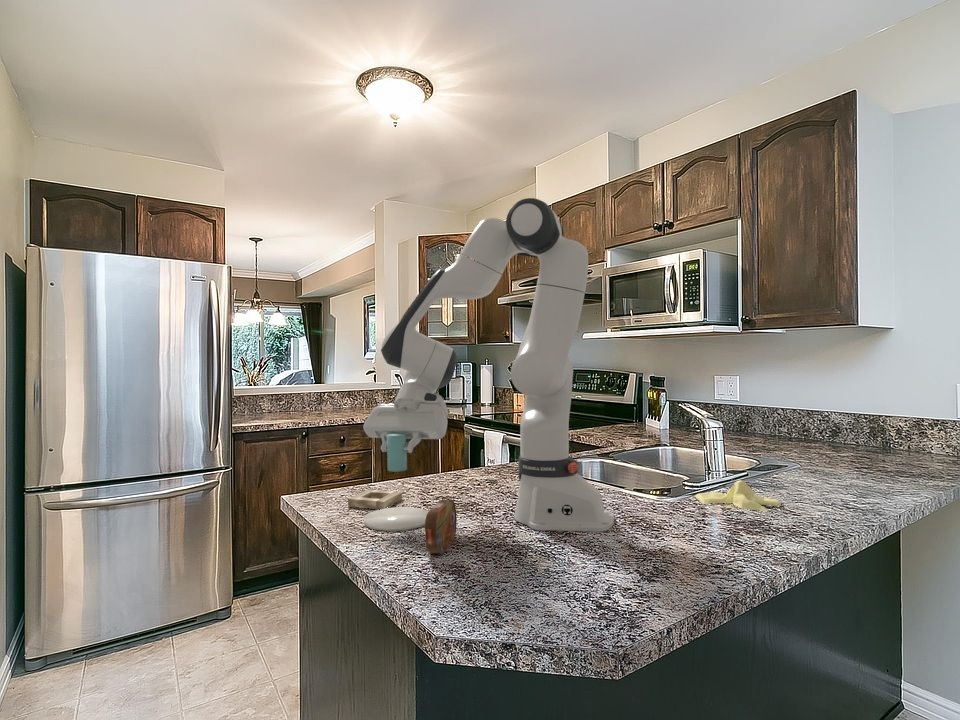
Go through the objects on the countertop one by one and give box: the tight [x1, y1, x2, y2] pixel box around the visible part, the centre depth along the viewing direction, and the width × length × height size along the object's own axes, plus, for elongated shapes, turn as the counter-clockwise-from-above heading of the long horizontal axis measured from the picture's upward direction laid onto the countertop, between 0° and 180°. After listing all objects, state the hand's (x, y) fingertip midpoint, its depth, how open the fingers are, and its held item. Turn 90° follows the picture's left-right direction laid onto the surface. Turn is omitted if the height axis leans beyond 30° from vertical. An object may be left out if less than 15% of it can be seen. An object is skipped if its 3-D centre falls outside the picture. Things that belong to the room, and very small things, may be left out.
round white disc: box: [363, 506, 429, 532], centre depth 126 cm, size 15×15×1 cm
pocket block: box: [347, 489, 403, 510], centre depth 141 cm, size 10×10×2 cm
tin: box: [424, 498, 458, 555], centre depth 109 cm, size 15×3×8 cm, turn 168°
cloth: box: [694, 480, 782, 511], centre depth 138 cm, size 22×19×6 cm
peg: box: [386, 433, 408, 473], centre depth 127 cm, size 4×4×8 cm
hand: (395, 450), depth 126 cm, fingers closed on peg, 4 cm apart
